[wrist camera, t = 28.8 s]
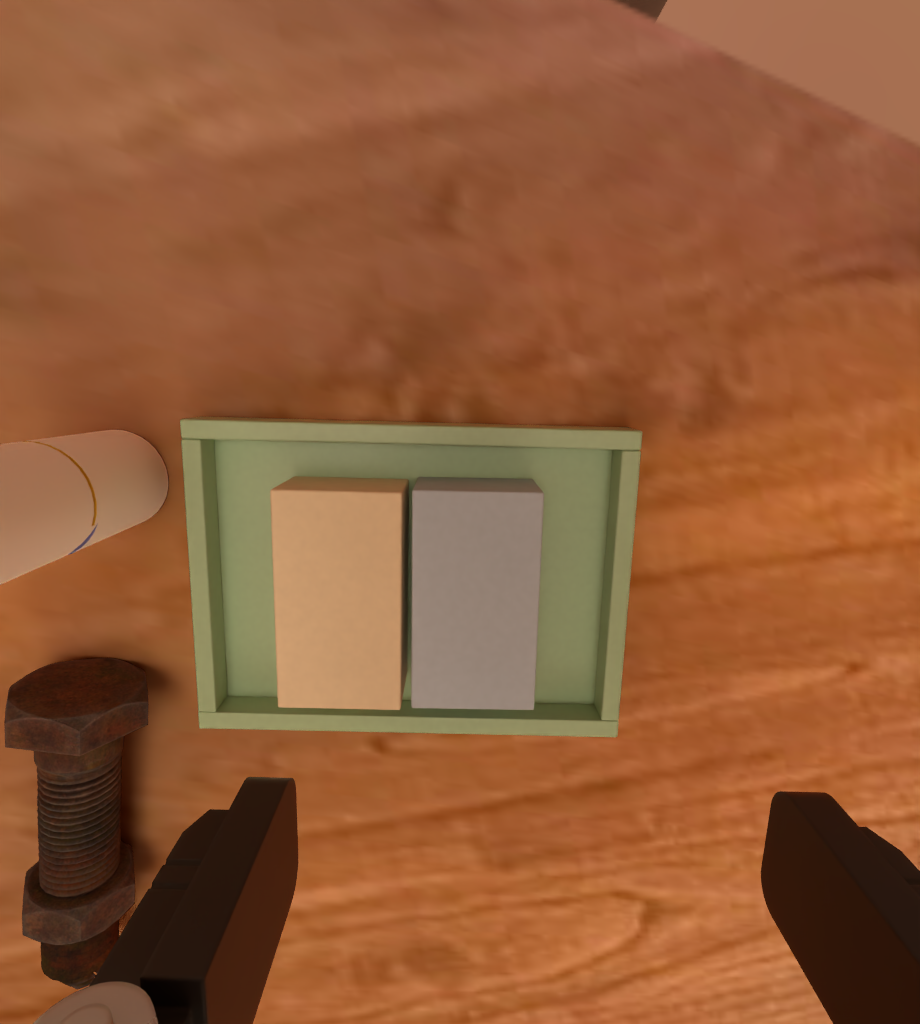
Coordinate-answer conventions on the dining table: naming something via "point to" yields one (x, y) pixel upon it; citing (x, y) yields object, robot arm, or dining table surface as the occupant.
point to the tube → (73, 494)
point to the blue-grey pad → (475, 592)
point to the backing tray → (408, 455)
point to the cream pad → (340, 591)
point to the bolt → (77, 807)
